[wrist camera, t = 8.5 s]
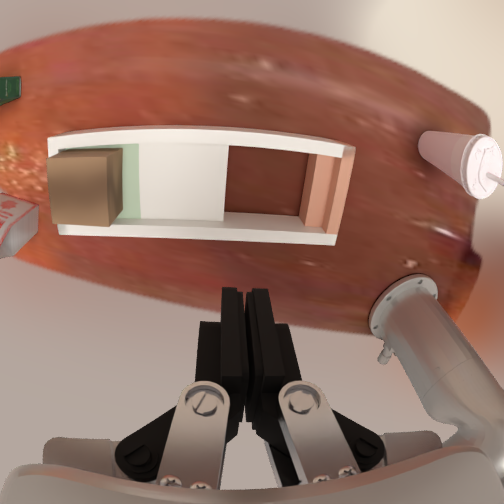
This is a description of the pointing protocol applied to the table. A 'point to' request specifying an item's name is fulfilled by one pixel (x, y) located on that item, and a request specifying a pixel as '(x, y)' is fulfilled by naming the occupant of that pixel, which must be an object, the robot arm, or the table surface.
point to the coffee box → (9, 89)
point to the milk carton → (16, 223)
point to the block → (85, 186)
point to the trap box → (211, 183)
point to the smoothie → (465, 159)
